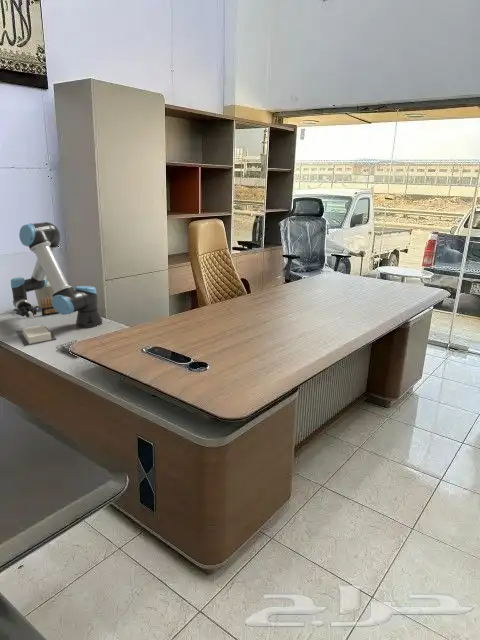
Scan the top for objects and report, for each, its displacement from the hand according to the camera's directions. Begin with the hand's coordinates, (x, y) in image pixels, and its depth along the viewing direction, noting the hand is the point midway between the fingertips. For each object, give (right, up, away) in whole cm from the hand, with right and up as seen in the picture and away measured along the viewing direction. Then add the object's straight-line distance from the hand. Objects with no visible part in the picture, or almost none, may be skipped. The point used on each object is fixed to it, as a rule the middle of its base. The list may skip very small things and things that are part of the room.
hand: (31, 316), depth 241 cm
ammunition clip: (-8, +1, +42) cm, 43 cm away
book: (-2, -7, +5) cm, 9 cm away
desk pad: (+1, -11, +2) cm, 11 cm away
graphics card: (+31, -19, -21) cm, 42 cm away
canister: (-16, +7, +58) cm, 61 cm away
